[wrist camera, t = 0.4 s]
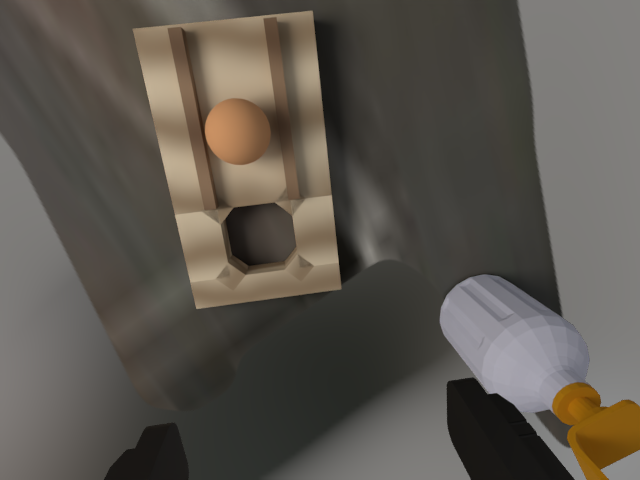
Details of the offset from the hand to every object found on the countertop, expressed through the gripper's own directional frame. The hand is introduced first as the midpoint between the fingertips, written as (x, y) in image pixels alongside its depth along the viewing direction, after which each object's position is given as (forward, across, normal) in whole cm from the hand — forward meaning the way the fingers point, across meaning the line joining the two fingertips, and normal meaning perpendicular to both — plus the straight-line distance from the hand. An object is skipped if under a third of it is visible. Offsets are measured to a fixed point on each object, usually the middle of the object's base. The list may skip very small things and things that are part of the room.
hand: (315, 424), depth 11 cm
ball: (+22, +4, -8) cm, 24 cm away
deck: (+27, +4, -5) cm, 27 cm away
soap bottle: (+27, -18, +13) cm, 35 cm away
